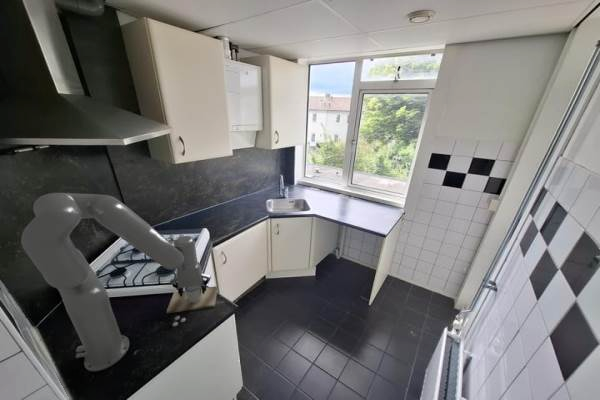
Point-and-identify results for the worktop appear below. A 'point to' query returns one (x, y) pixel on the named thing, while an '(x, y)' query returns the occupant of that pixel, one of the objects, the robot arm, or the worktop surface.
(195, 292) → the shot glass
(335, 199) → the worktop surface
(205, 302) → the birch board
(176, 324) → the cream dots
